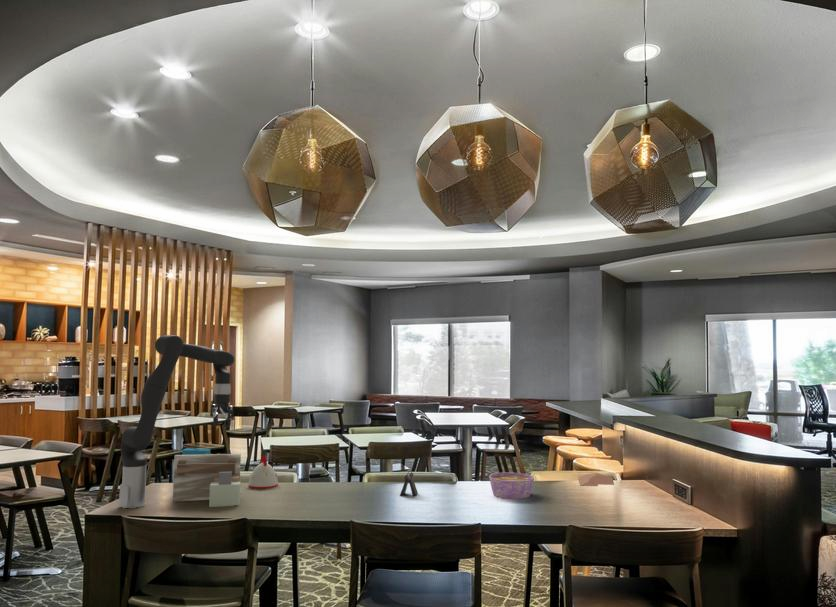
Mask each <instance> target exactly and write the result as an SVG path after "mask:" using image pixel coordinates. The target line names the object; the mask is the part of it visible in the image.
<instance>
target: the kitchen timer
mask: <svg viewBox="0 0 836 607" xmlns="http://www.w3.org/2000/svg"><path fill="white" fill-rule="evenodd" d="M278 479H279V478H278V472H276V471H275V468H273V467H272V465H270V464H269V463H268V460H267V457H266V455H262V457H261V459H260V463H259V464H258V465H256V467H255V468H254V469H253V470H252V472H251V473H250V475H249V479H248V480H249V481H248V488H249V487H250V488H249V489H253V488H256V489H255V490H262V489H263V490H264V488H266V489H273V488H276V487H278V486H279V481H278Z"/></svg>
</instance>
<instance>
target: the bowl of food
mask: <svg viewBox="0 0 836 607" xmlns="http://www.w3.org/2000/svg"><path fill="white" fill-rule="evenodd" d="M488 478H489V482H490V486H491V490H492V494H493V496H494V497H496V498H500V499H510V500H518V499H519V500H520V499H525V498H529V497H531V493H532V490H533V486H534V482H535V477H534V476H533V475H530V474H526V473H521V472H496V473H495V472H494V473H490V475H488Z"/></svg>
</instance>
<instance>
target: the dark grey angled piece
mask: <svg viewBox="0 0 836 607" xmlns="http://www.w3.org/2000/svg"><path fill="white" fill-rule="evenodd" d="M408 485H409V487H410V491H411V496H412V497H417V496H418V494H419V492H418V490H417V489H418V488H417V486H416V483H415V481H414V473H413V472H407V473H406V475H405V476H404V483H403V486H402V489H401V491H400V495H399V497H404V496H405V495H406V492H407V488H408Z"/></svg>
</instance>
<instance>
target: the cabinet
mask: <svg viewBox="0 0 836 607" xmlns="http://www.w3.org/2000/svg"><path fill="white" fill-rule="evenodd" d="M241 484H242V482H241V480H240V482H239V476H232V472H219V476H216V477H215V478H214V482H212V483H211V484H210V498H209V500H208V502H209V503H208V504H209V506H208V507H209V508H214V507H215V508H218V507H232V506H233V507H235V506H234V505H238V506H240V503H241V495H240V493H241V486H242V485H241Z"/></svg>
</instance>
